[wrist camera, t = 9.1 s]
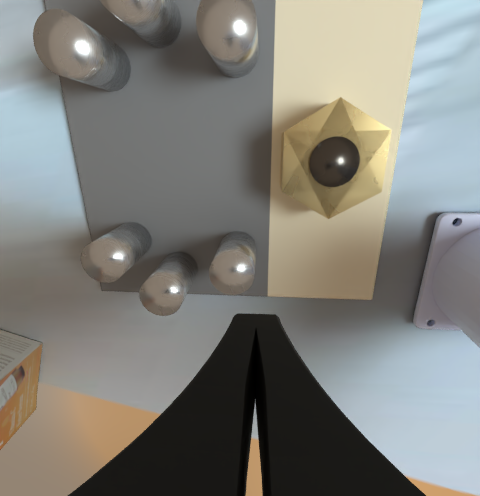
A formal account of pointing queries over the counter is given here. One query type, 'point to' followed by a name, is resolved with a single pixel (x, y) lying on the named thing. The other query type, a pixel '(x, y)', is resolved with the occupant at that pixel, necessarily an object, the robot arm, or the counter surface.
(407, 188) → the counter surface
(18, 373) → the small box
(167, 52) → the spacer mat
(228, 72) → the standing spacers
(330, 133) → the brass nut
